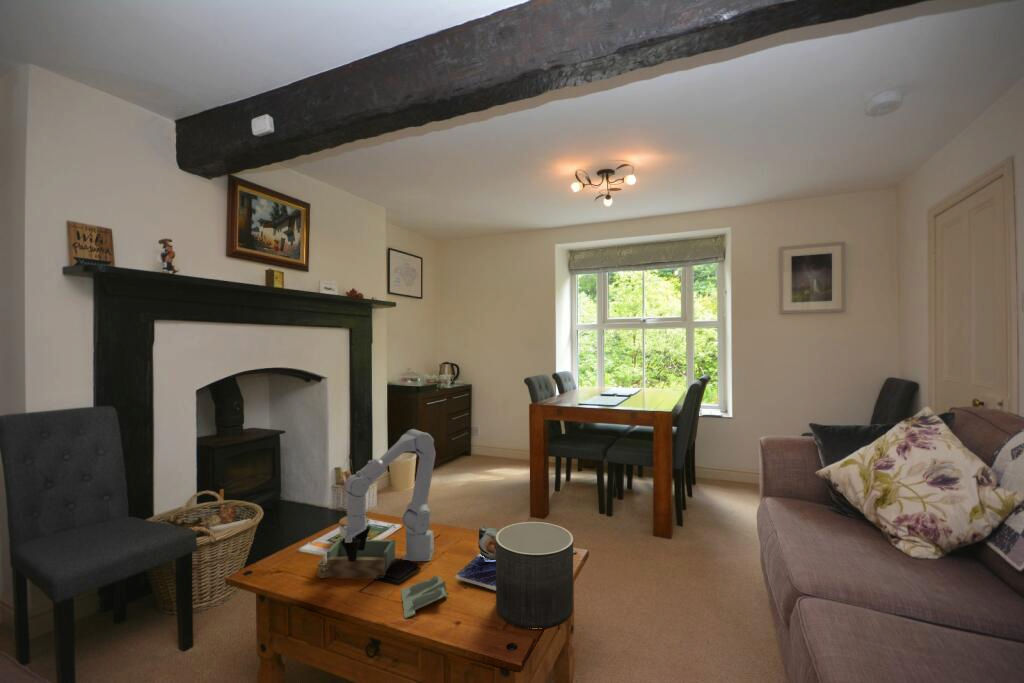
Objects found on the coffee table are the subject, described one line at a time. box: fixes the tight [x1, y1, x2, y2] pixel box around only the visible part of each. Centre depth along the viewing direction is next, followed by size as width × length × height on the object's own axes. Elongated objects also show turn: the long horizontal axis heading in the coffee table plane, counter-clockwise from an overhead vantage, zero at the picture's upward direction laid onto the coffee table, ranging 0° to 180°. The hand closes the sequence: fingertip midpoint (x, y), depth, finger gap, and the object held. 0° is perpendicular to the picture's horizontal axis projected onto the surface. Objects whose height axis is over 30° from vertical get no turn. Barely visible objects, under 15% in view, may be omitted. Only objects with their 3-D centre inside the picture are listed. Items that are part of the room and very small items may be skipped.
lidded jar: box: [338, 515, 370, 539], centre depth 178 cm, size 11×11×9 cm
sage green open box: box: [322, 538, 396, 573], centre depth 156 cm, size 20×13×6 cm, turn 89°
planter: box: [495, 521, 574, 630], centre depth 133 cm, size 22×22×20 cm
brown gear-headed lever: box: [316, 557, 386, 579], centre depth 150 cm, size 22×4×6 cm, turn 88°
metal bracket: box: [400, 575, 450, 620], centre depth 137 cm, size 14×6×15 cm
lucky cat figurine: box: [478, 525, 499, 560], centre depth 161 cm, size 15×12×14 cm
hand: (356, 555), depth 150 cm, fingers open, 7 cm apart
